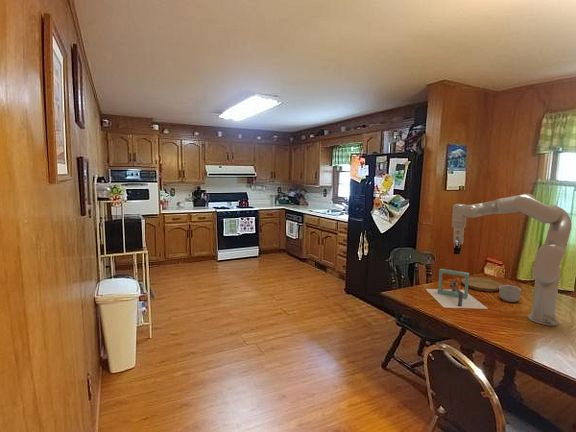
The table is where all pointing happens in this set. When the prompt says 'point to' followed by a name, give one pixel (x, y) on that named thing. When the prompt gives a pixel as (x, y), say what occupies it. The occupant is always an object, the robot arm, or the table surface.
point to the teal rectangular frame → (453, 293)
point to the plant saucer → (482, 284)
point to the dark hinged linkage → (453, 286)
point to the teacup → (509, 293)
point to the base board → (455, 300)
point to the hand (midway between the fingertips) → (457, 252)
